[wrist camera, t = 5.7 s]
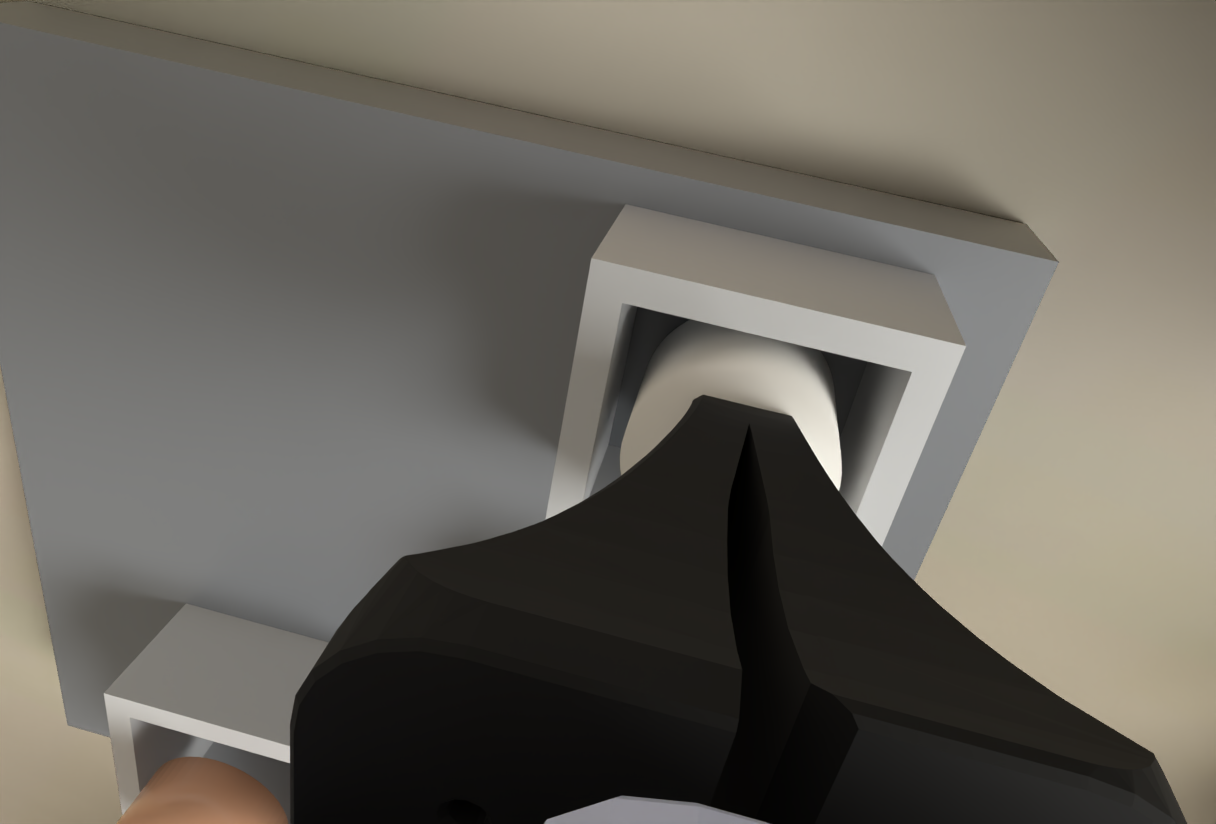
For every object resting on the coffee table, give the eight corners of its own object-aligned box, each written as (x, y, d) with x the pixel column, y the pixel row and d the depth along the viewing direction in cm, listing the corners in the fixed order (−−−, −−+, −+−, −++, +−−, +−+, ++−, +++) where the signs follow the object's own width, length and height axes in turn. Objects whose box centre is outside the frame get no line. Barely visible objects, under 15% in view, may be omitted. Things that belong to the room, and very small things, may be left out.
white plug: (802, 497, 14) (805, 582, 13) (627, 453, 15) (602, 529, 13) (860, 335, 13) (872, 402, 11) (663, 288, 13) (642, 346, 11)
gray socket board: (759, 849, 23) (753, 1046, 19) (119, 669, 24) (-17, 816, 20) (1026, 224, 15) (1119, 332, 10) (27, 0, 16) (-237, 19, 12)
